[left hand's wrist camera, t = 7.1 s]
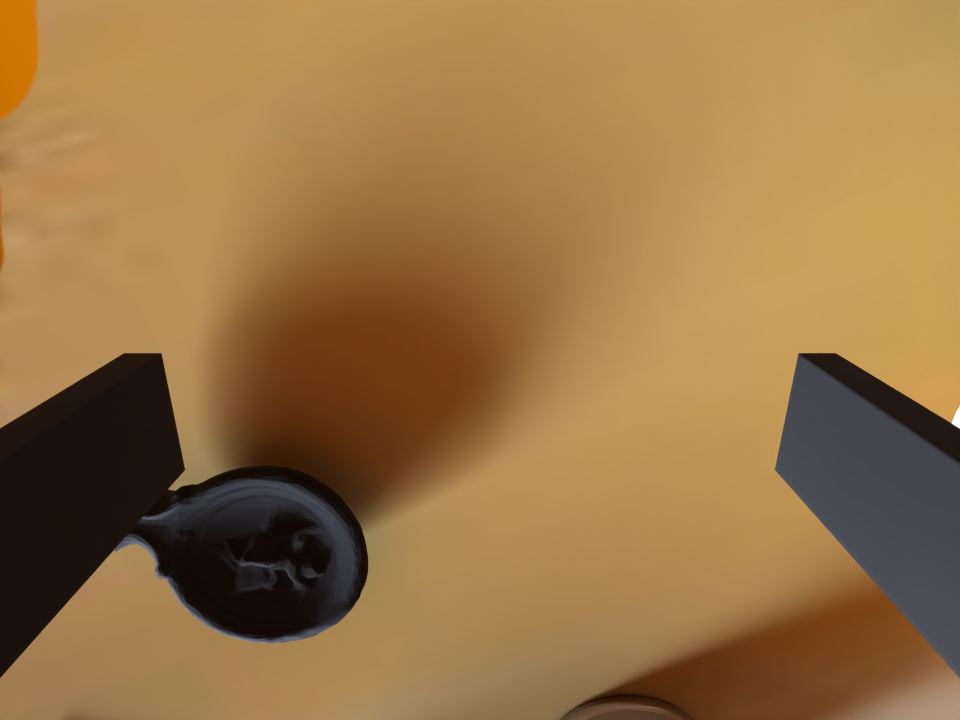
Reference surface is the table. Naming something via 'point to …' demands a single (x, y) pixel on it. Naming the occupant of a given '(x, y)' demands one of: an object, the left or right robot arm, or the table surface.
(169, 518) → the oil lamp
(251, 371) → the table surface
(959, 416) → the jar
